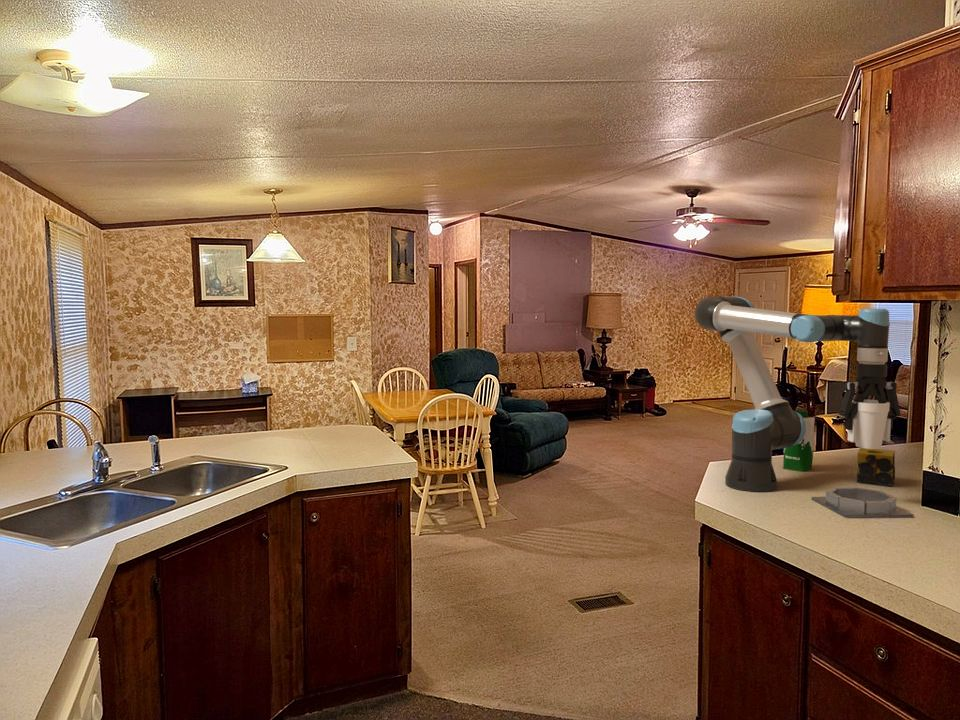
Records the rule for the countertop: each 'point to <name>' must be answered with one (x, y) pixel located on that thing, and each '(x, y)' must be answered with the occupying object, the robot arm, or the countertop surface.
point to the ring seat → (861, 503)
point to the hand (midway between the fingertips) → (868, 441)
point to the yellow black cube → (876, 467)
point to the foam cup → (871, 423)
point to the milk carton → (801, 448)
